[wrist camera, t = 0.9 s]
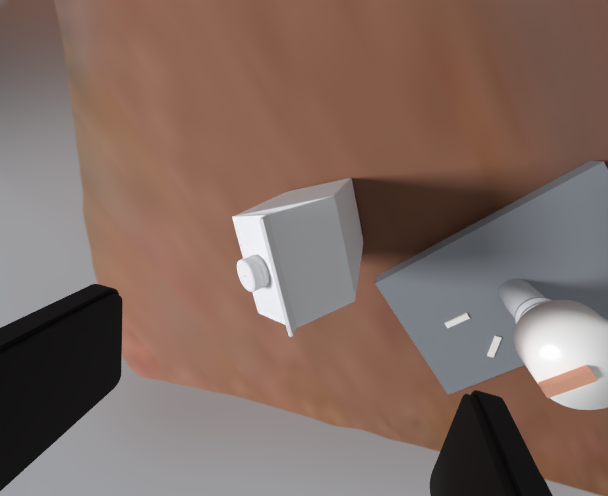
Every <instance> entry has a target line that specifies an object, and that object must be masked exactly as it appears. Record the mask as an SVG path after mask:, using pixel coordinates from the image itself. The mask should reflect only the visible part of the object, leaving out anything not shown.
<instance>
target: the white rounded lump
mask: <svg viewBox="0 0 608 496" xmlns="http://www.w3.org/2000/svg"><path fill="white" fill-rule="evenodd" d="M513 345H514V348H515V350H516V352H517V354H518V355H519V357H520V358H521V360H522V361H523V363H524V364H525V366H526V367H527V369H528V370H529V371H530V373H531V374H532V376H533V377H534V379H535V380H536V382H537V383H538V385H539V386H540V387H541V389H542V391H543V392H544V394H545V395H546V397H547V398H551V399H552V400H554V401H555V402H557V403H559V404H561V405H564V406H567V407H570V408H574V409H581V410H595V409H602V408H606V407H608V321H607V320H606V319H605V318H603V317H602V316H601V315H599V314H598V313H597V312H595V311H594V310H593V309H591V308H590V307H588V306H586V305H584V304H582V303H579V302H576V301H571V300H553V301H548V302H544V303H541V304H539V305H537V306H535V307H533V308H531V309H530V310H528V311H527V312H526V313H525V314H524V315H523V316H522V317H521V318H520V319H519V321H518V322H517V324H516V326H515V329H514V332H513Z"/></svg>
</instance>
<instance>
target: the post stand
mask: <svg viewBox="0 0 608 496" xmlns="http://www.w3.org/2000/svg"><path fill="white" fill-rule="evenodd" d="M375 284H376V286H377V287H378V289H379V290H380V292H381V293H382V295H383V296H384V298H385V299H386V301H387V302H388V304H389V306H390V307H391V309H392V310H393V312H394V313H395V315H396V316H397V318H398V319H399V321H400V322H401V324H402V325H403V327H404V328H405V330H406V331H407V333H408V335H409V336H410V338H411V339H412V341H413V342H414V344H415V345H416V347H417V348H418V350H419V351H420V353H421V354H422V356H423V357H424V359H425V360H426V362H427V364H428V365H429V367H430V368H431V370H432V371H433V373H434V374H435V376H436V377H437V379H438V380H439V382H440V383H441V385H442V386H443V388H444V389H445V391H446V392H447V394H448V395H449V394H451V393H454V392H456V391H459V390H461V389H464V388H467V387H469V386H472V385H474V384H477V383H480V382H482V381H485V380H487V379H490V378H492V377H495V376H498V375H500V374H503V373H505V372H508V371H511V370H513V369H516V368H518V367H521V366H523V365H525V364H524V363H523V361H522V360H521V358H520V357H519V355H518V354H517V352H516V350H515V348H514V345H513V332H514V329H515V326H516V324H517V322H518V321H519V319H520V318H521V317H522V316H523V315H524V314H525V313H526V312H527V311H528V310H530V309H531V308H533V307H535V306H537V305H539V304H541V303H544V302H548V301H553V300H571V301H576V302H579V303H582V304H584V305H586V306H588V307H590V308H591V309H593V310H594V311H595V312H597V313H598V314H599V315H601V316H602V317H603V318H605V319H606V320H607V321H608V169H607V167H606V165H605V163H604V161H588V162H586V163H584V164H583V165H581V166H579V167H577V168H575V169H573V170H571V171H570V172H568V173H566V174H564V175H562V176H560V177H559V178H557V179H555V180H553V181H551V182H549V183H548V184H546V185H544V186H542V187H540V188H538V189H536V190H535V191H533V192H531V193H529V194H527V195H525V196H524V197H522V198H520V199H518V200H516V201H514V202H512V203H511V204H509V205H507V206H505V207H503V208H501V209H500V210H498V211H496V212H494V213H492V214H490V215H489V216H487V217H485V218H483V219H481V220H479V221H477V222H476V223H474V224H472V225H470V226H468V227H466V228H465V229H463V230H461V231H459V232H457V233H455V234H453V235H452V236H450V237H448V238H446V239H444V240H442V241H441V242H439V243H437V244H435V245H433V246H431V247H429V248H428V249H426V250H424V251H422V252H420V253H418V254H417V255H415V256H413V257H411V258H409V259H407V260H406V261H404V262H402V263H400V264H398V265H396V266H394V267H393V268H391V269H389V270H387V271H385V272H383V273H382V274H380V275H378V276H376V277H375Z"/></svg>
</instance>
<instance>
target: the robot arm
mask: <svg viewBox="0 0 608 496" xmlns="http://www.w3.org/2000/svg"><path fill="white" fill-rule="evenodd" d="M121 350H122V298H121V296H119V293H118V291H117V290H116V289H113V288H110V287H106V286H103V285H99V284H93V285H90V286H88V287H86V288H84V289H82V290H80V291H78V292H75V293H73V294H71V295H69V296H67V297H65V298H63V299H61V300H59V301H56V302H54V303H52V304H50V305H48V306H46V307H44V308H42V309H40V310H38V311H36V312H33V313H31V314H29V315H27V316H25V317H23V318H21V319H18V320H16V321H14V322H12V323H10V324H8V325H6V326H4V327H1V328H0V491H1V490H2V489H3V488H4V487H5V486H6V485H8V484H9V483H10V482H11V481H12V480H13V479H14V478H15V477H16V476H17V475H19V474H20V473H21V472H22V471H23V470H24V469H25V468H26V467H27V466H28V465H30V464H31V463H32V462H33V461H34V460H35V459H36V458H37V457H38V456H40V455H41V454H42V453H43V452H44V451H45V450H46V449H47V448H48V447H50V446H51V445H52V444H53V443H54V442H55V441H56V440H57V439H58V438H59V437H61V436H62V435H63V434H64V433H65V432H66V431H67V430H68V429H69V428H70V427H72V426H73V425H74V424H75V423H76V422H77V421H78V420H79V419H80V418H82V417H83V416H84V415H85V414H86V413H87V412H88V411H89V410H90V409H91V408H93V407H94V406H95V405H96V404H97V403H98V402H99V401H100V400H101V399H103V398H104V397H105V396H106V395H107V394H108V393H109V392H110V391H111V390H113V389H114V388H115V386H116V385H117V384H118V382H119V380H120V377H121ZM430 494H431V496H552V494H551V492H550V490H549V488H548V486H547V484H546V482H545V480H544V478H543V477H542V475H541V474H540V472H539V470H538V468H537V466H536V464H535V462H534V460H533V458H532V456H531V454H530V452H529V450H528V448H527V446H526V444H525V442H524V440H523V438H522V436H521V434H520V432H519V430H518V428H517V426H516V424H515V422H514V420H513V418H512V416H511V414H510V412H509V410H508V408H507V406H506V404H505V402H504V401H503V399H502V398H501V397H498V396H495V395H491V394H488V393H484V392H480V391H477V390H475V391H473V392H472V393H471V395H468V394H465V395H464V396H463V397H462V400H461V402H460V405H459V407H458V409H457V412H456V414H455V417H454V419H453V422H452V424H451V427H450V429H449V432H448V434H447V437H446V439H445V442H444V444H443V447H442V449H441V452H440V454H439V457H438V459H437V462H436V464H435V467H434V469H433V471H432V474H431V479H430Z"/></svg>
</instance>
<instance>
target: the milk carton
mask: <svg viewBox="0 0 608 496" xmlns="http://www.w3.org/2000/svg"><path fill="white" fill-rule="evenodd" d="M232 217H233V222H234V226H235V230H236V234H237V238H238V241H239V245H240V249H241V252H242V256H243V259H241V260H239V261H238V263H237V272H238V276H239V278H240V281H241V283H242V285H243V286H244V287H245V288H246V289H247V290H248V291H250V292H252V293H253V296H254V300H255V303H256V306H257V310H258V312H259V314H261V315H264V316H266V317H268V318H271V319H273V320H275V321H278V322H280V323H282V324H285V325H286V327H287V331H288V335H289V337H293V335H294V332H295V330H296V328H298V327H300V326H302V325H304V324H307V323H309V322H311V321H313V320H315V319H317V318H320V317H322V316H324V315H326V314H328V313H331V312H333V311H335V310H337V309H339V308H341V307H344V306H346V305H348V304H350V303H352V302H354V301H355V297H356V291H357V284H358V277H359V270H360V263H361V257H362V250H363V236H362V231H361V225H360V220H359V215H358V209H357V204H356V199H355V193H354V188H353V183H352V179H351V178H348V179H343V180H339V181H334V182H329V183H325V184H320V185H315V186H311V187H306V188H301V189H297V190H292V191H287V192H285V193H283V194H281V195H278V196H276V197H274V198H272V199H270V200H268V201H265V202H263V203H261V204H259V205H257V206H255V207H252V208H250V209H248V210H246V211H244V212H242V213H239V214H237V215H235V216H232Z"/></svg>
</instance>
